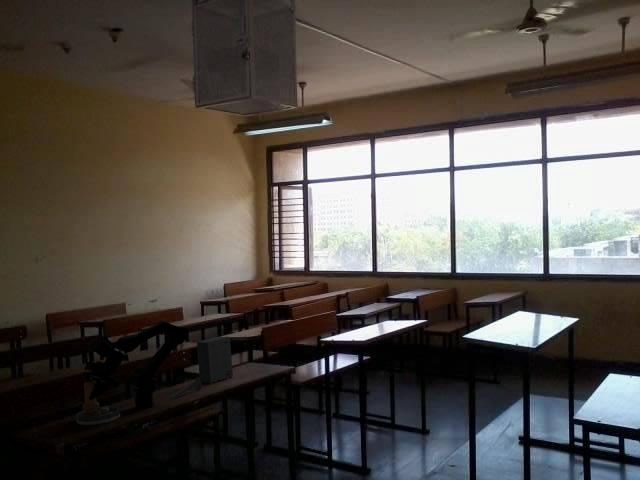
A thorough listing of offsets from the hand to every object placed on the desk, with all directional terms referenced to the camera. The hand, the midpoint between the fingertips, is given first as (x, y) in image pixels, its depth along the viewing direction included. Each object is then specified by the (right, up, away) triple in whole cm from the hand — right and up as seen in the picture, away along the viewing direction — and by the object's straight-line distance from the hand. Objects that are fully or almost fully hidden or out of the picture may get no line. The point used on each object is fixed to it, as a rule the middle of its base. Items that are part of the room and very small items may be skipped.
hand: (86, 398), depth 234 cm
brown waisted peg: (+1, -7, +1) cm, 7 cm away
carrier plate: (+3, -9, +3) cm, 10 cm away
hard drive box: (+39, -7, +62) cm, 73 cm away
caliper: (+30, -8, +35) cm, 47 cm away
